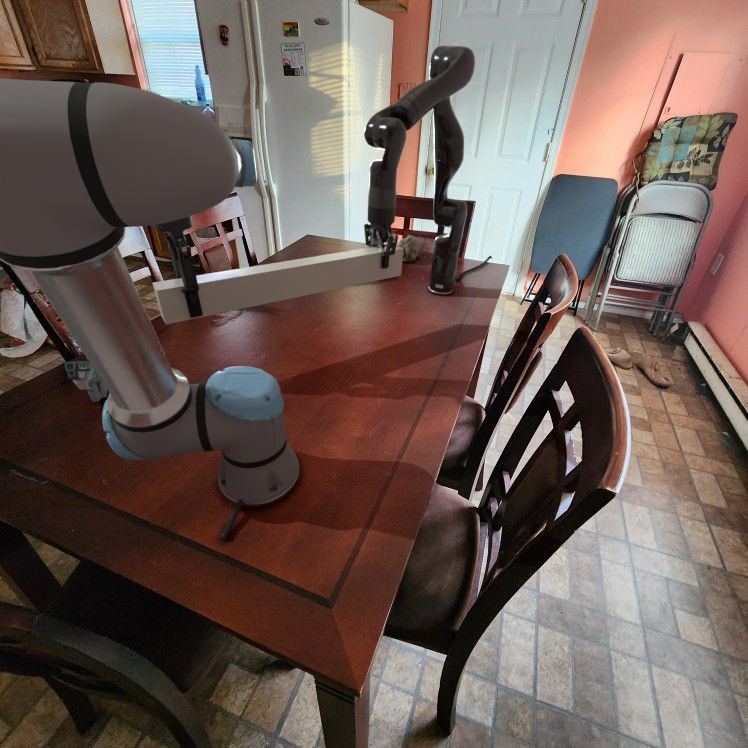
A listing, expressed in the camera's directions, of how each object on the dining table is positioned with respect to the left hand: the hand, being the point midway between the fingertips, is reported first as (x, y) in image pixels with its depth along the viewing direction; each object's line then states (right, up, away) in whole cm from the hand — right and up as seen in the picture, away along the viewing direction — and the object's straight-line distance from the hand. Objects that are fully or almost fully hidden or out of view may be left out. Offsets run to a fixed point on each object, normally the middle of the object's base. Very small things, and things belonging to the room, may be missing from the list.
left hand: (193, 311), depth 97 cm
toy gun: (-23, -20, +3) cm, 31 cm away
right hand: (+44, +17, +23) cm, 53 cm away
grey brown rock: (+58, +37, +90) cm, 113 cm away
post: (+22, +7, +13) cm, 26 cm away
